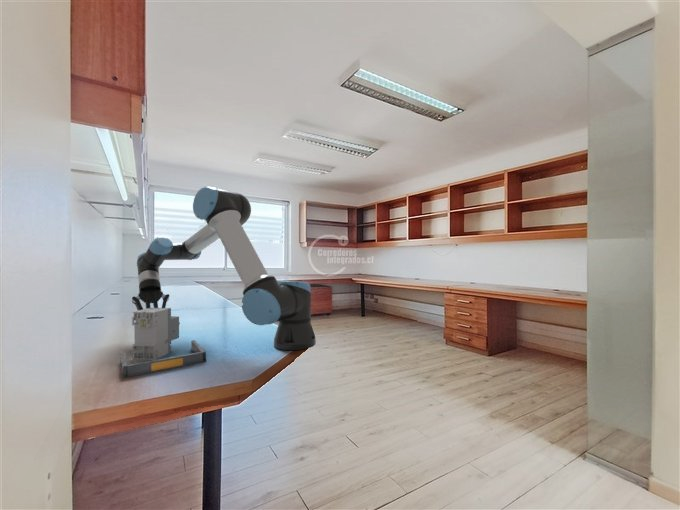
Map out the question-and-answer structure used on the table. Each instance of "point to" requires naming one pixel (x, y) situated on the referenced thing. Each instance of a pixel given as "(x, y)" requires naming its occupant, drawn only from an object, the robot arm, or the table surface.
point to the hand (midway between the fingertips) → (154, 332)
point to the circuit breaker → (154, 333)
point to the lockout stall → (163, 362)
